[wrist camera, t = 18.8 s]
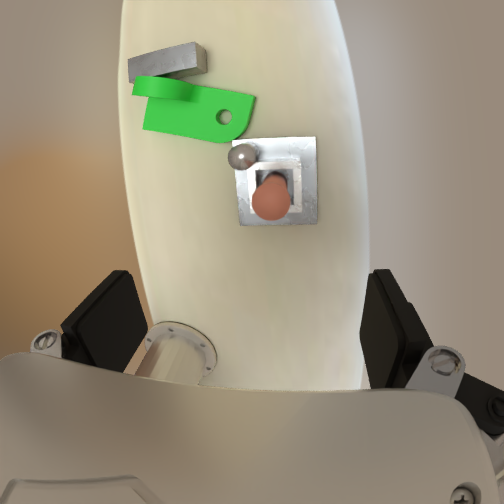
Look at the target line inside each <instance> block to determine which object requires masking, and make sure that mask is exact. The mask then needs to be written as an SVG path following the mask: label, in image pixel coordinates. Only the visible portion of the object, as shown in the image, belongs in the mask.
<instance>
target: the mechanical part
mask: <svg viewBox="0 0 504 504" xmlns="http://www.w3.org/2000/svg"><path fill="white" fill-rule="evenodd" d="M132 95H137V96H146V97H149V98H148V103H147V108H146V113H145V118H144V123H143V129H144V130H150V131H157V132H163V133H169V134H174V135H180V136H185V137H190V138H196V139H201V140H205V141H210V142H215V143H225V142H229V141H232V140H235V139H237V138H238V137H240V136H241V135H242V134H243V133H244V132H245V131H246V129H247V127H248V125H249V122H250V118H251V114H252V110H253V106H254V103H255V99H256V97H255V96H252V95H247V94H242V93H237V92H232V91H227V90H221V89H215V88H209V87H203V86H197V85H193V84H190V83H187V82H184V81H180V80H175V79H169V78H162V77H153V76H136V78H135V83H134V87H133V92H132ZM224 110H229V111H230V112H231V114H232V119H231V121H230V123H228V124H226V125H225V124H223V123H221V121H220V118H219V117H220V114H221V112H222V111H224Z"/></svg>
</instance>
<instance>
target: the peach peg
mask: <svg viewBox="0 0 504 504" xmlns="http://www.w3.org/2000/svg"><path fill="white" fill-rule="evenodd" d="M287 185H288V181H287V178H286V176H285V175H284V174H283V173H281V172H279V171H273V172H270V173H268V174H267V175H266V177H265V179H264V181H263V183H262V185H260V186H259V187H258V188H257V189H256V190H255V192H254V194H253V196H252V207H253V210H254V212H255V213H256V214H257V215H258V216H259V217H260V218H262V219H264V220H268V221H275V220H278V219H281V218H282V217H284V216H285V215H286V214H287V212H288V210H289V208H290V195H289V193H288V191H287Z"/></svg>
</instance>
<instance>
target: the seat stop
mask: <svg viewBox="0 0 504 504" xmlns="http://www.w3.org/2000/svg"><path fill="white" fill-rule="evenodd" d="M128 73H129V83H133V84H134V83H135V78H136V76H153V77H162V78H169V79H176V78H181V77H186V76H191V75H197V74H203V73H207V62H206V50H205V49H204V48H202V47H201V46H200V45H199V44H197V43H196V42H191V43H187V44H182V45H178V46H173V47H169V48H165V49H161V50H157V51H154V52H150V53H147V54H143V55H140V56H137V57H133V58H130V59H128Z"/></svg>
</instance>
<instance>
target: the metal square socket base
mask: <svg viewBox="0 0 504 504" xmlns="http://www.w3.org/2000/svg"><path fill="white" fill-rule="evenodd" d="M232 141H233V148H232V149H231V150H230V151H229V153H228V161H229V164H230V165H231V166H232V167H233V168H234V169H235V176H236V187H237V198H238V209H239V220H240V226H248V225H293V224H317V165H316V138H315V136H307V137H272V138H254V139H240V140H232ZM273 171H279V172H281V173H283V174H284V175H285V176H286V178H287V181H288V185H287V191H288V193H289V195H290V208H289V210H288V212H287V214H286V215H285V216H284V217H282V218H281V219H278V220H275V221H268V220H264V219H262V218H260V217H259V216H258V215H257V214H256V213H255V212H254V210H253V207H252V196H253V194H254V192H255V190H256V189H257V188H258V187H259V186H260V185H262V183H263V181H264V179H265V177H266V175H267V174H268V173H270V172H273Z"/></svg>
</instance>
